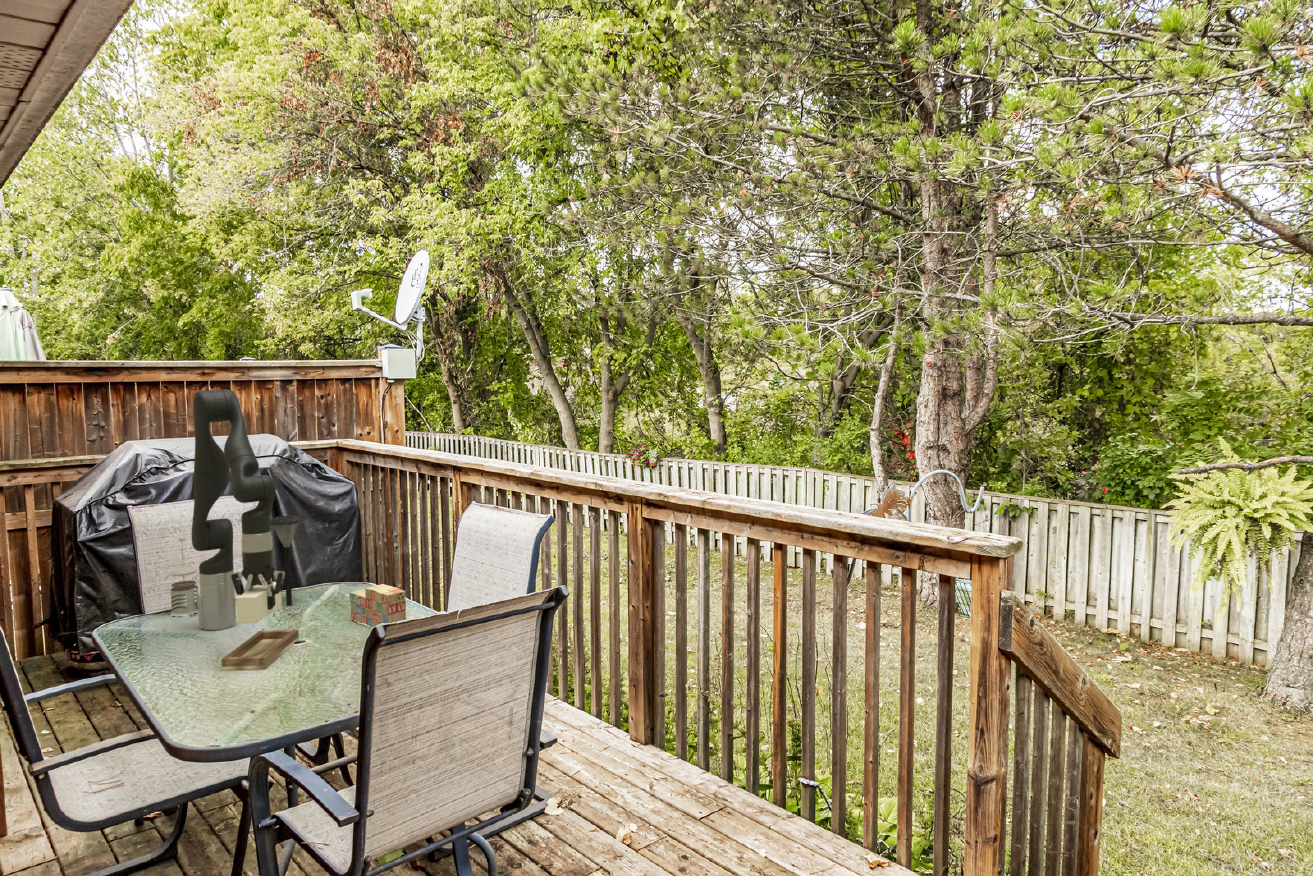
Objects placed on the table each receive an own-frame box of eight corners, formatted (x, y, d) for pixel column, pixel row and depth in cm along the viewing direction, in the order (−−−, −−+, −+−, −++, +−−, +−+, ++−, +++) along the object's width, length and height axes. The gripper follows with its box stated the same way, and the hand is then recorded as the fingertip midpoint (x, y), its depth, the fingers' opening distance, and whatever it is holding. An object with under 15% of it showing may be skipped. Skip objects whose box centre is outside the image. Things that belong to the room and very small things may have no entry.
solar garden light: (314, 599, 271) (311, 513, 269) (300, 610, 259) (296, 520, 257) (278, 600, 271) (274, 514, 268) (262, 611, 258) (258, 520, 256)
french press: (183, 607, 263) (179, 533, 261) (214, 608, 261) (211, 534, 259) (160, 616, 253) (156, 540, 251) (193, 618, 251) (189, 540, 249)
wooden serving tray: (222, 670, 206) (221, 659, 206) (259, 641, 229) (259, 631, 229) (265, 669, 207) (265, 658, 207) (298, 639, 230) (298, 629, 230)
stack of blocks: (350, 621, 247) (349, 582, 246) (368, 616, 252) (367, 578, 251) (388, 635, 234) (387, 594, 233) (407, 629, 239) (405, 590, 238)
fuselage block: (237, 623, 209) (236, 597, 208) (263, 606, 225) (262, 582, 224) (256, 623, 209) (255, 597, 209) (281, 606, 225) (280, 582, 224)
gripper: (223, 552, 211) (226, 614, 213) (278, 550, 212) (281, 612, 214) (236, 546, 219) (239, 606, 220) (289, 544, 220) (292, 604, 221)
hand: (260, 609), depth 217 cm, fingers closed on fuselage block, 5 cm apart
